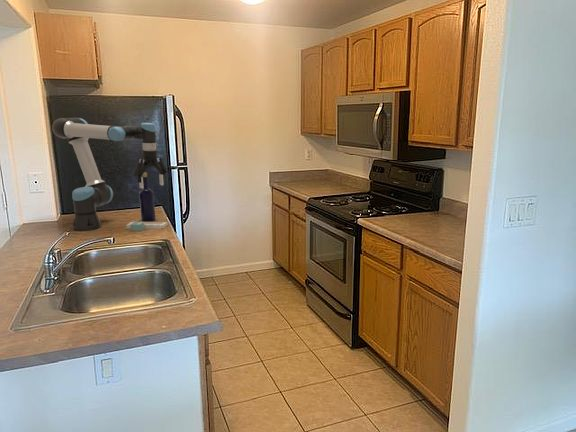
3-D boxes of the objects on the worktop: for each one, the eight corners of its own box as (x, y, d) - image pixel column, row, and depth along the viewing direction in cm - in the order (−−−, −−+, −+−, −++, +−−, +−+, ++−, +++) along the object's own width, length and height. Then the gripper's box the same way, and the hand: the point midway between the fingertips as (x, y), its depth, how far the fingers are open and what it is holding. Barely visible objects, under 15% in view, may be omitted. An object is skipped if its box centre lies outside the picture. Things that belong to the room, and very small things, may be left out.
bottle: (153, 222, 265) (149, 173, 258) (138, 222, 265) (134, 174, 258) (158, 218, 274) (154, 171, 267) (143, 218, 274) (139, 172, 267)
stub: (130, 231, 245) (130, 224, 245) (134, 229, 250) (133, 222, 249) (141, 231, 245) (140, 224, 244) (144, 229, 250) (143, 222, 249)
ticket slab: (126, 228, 251) (126, 224, 251) (132, 224, 259) (131, 221, 258) (163, 228, 250) (163, 225, 249) (167, 225, 258) (167, 221, 257)
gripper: (133, 152, 236) (136, 190, 241) (171, 149, 255) (173, 184, 260) (126, 151, 240) (129, 188, 245) (164, 148, 259) (165, 183, 264)
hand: (151, 186), depth 252 cm, fingers open, 13 cm apart
